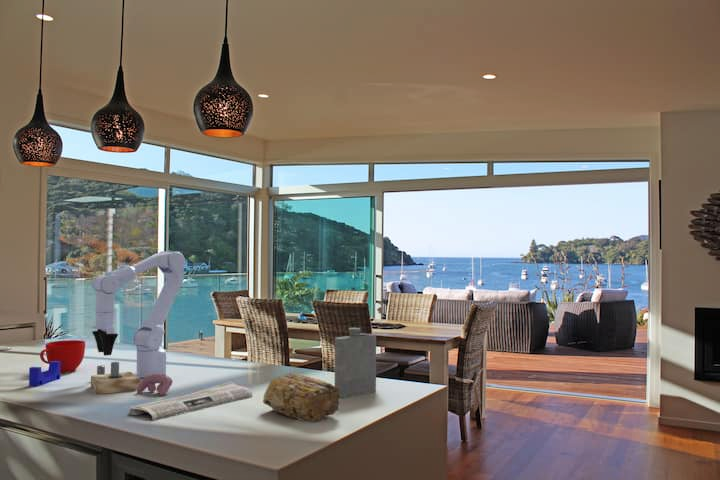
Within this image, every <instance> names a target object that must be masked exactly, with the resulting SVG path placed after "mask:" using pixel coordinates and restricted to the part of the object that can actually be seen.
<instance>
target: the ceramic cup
mask: <svg viewBox="0 0 720 480" xmlns="http://www.w3.org/2000/svg"><path fill="white" fill-rule="evenodd" d="M44 347H45V348H44V349H42V350H41V351H40V354H39V357H40V360H41V361H42V363H44V364H48V365H49V363H50V362H51V361H61V371H60V373H72V372H75V371H76V370H77V369H78V367H79V366H80V365H81V363H82V362H83V359H84V357H85V352H86V341H84V340H76V339H73V340H70V339H69V340H55V341H50V342H46V343H45V345H44ZM44 355H45V356H46V359H45V357H44Z"/></svg>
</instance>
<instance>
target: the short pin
mask: <svg viewBox="0 0 720 480" xmlns="http://www.w3.org/2000/svg"><path fill="white" fill-rule="evenodd" d="M105 371H106V366H105V365H103V364H102V365H97V366H96V375H103V374H106V372H105Z"/></svg>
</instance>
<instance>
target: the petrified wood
mask: <svg viewBox="0 0 720 480" xmlns="http://www.w3.org/2000/svg"><path fill="white" fill-rule="evenodd" d="M339 397H340V394H339V391H338V389H337V388H336V387H335V385H333V384H332V383H330V382H329V383H328V382H326V381H323V380H320V379H318V378H317V379H316V378H314V377H310V376H307V375H304V374H303V375H302V374H298V373H289V374H285V375H284V376H280V375H279V376H277V377H275V378H274V379H273V380H271V381H270V382H269V384H268V386H267V388H266V390H265V392H264V394H263V398H262V399H263V400H262V403H263V405H266V406H268V407H269V408H271V409H272V410H274V411H276V412H278V413H279V414H281V415H285V414H286V415H285V416H288V417H289V418H294V417H296V418H295V419H297V420H300V419H301V420H300V421H310V420H311V422H319V421H320V420H325V419H326V417H328V416H331V415H332V416H333V415H334V414H335V413H336V412H338V411H339V405H340V401H339V399H338V398H339ZM291 416H292V417H291Z"/></svg>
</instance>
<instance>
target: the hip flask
mask: <svg viewBox="0 0 720 480" xmlns="http://www.w3.org/2000/svg"><path fill="white" fill-rule="evenodd" d="M360 332H361V328H360V327H349V328H348V333H349V335H345V336H344V335H343V336H340V337H339V336H338V337H335V338H334V386H335V387H336V388H337V389H338V391H339V394H340V397H339V398H338V400H339V399H346V398H349V397H353V396H358V395H359V396H360V395H363V394H369V393H375V392H377V333H360Z"/></svg>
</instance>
